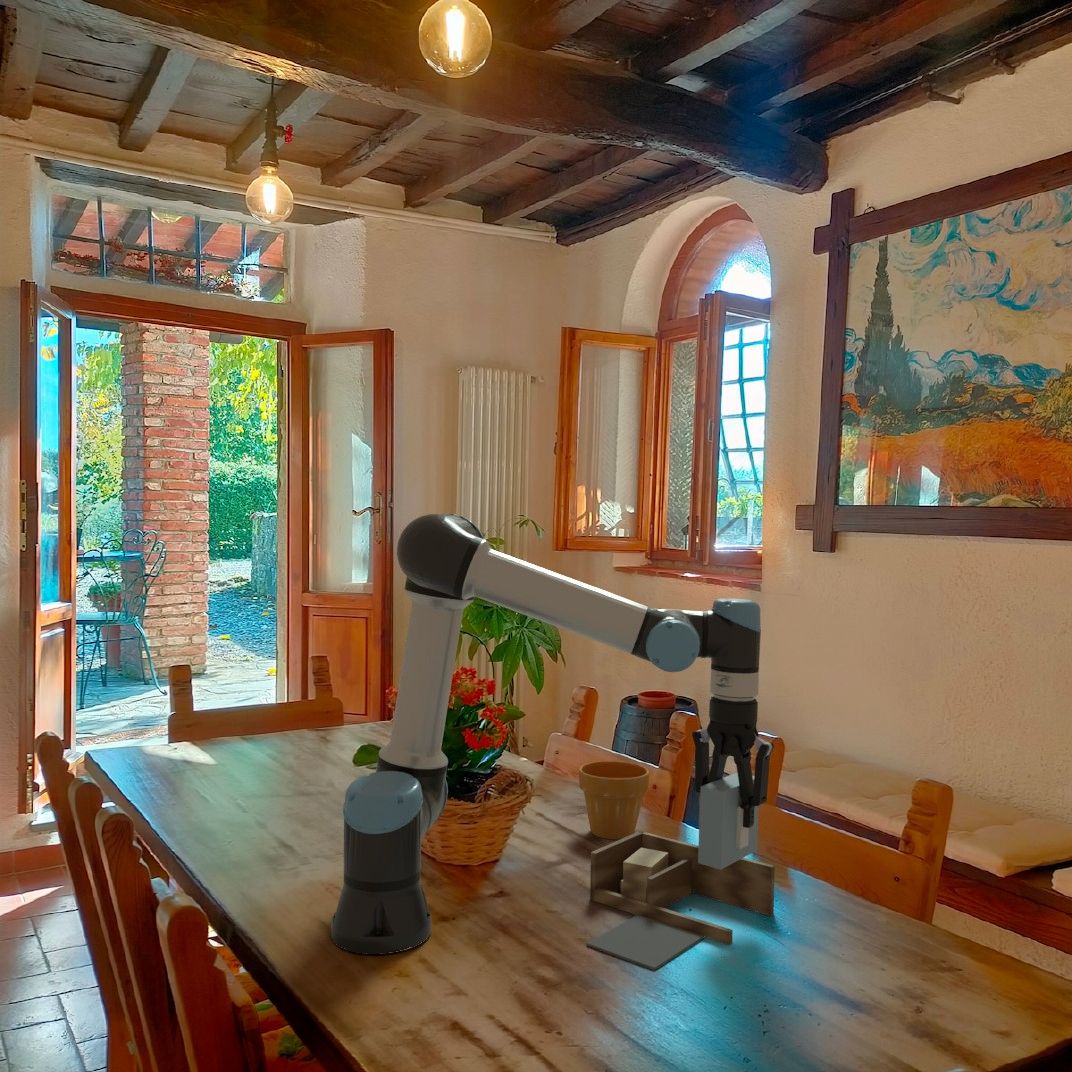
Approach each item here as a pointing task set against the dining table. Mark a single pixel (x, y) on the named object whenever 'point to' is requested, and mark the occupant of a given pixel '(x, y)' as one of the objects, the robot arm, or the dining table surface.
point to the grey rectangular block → (722, 824)
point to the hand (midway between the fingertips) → (728, 842)
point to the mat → (645, 941)
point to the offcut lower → (634, 891)
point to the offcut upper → (643, 866)
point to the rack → (681, 883)
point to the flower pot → (613, 796)
